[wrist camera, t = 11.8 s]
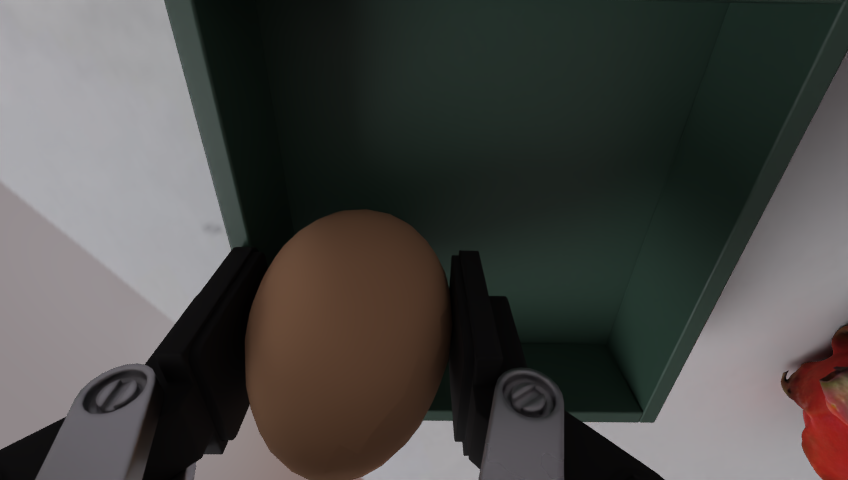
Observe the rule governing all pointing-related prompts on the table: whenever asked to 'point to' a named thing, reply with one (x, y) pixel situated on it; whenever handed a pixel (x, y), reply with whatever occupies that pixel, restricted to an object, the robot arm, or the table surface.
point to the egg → (347, 343)
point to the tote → (523, 151)
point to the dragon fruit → (824, 409)
